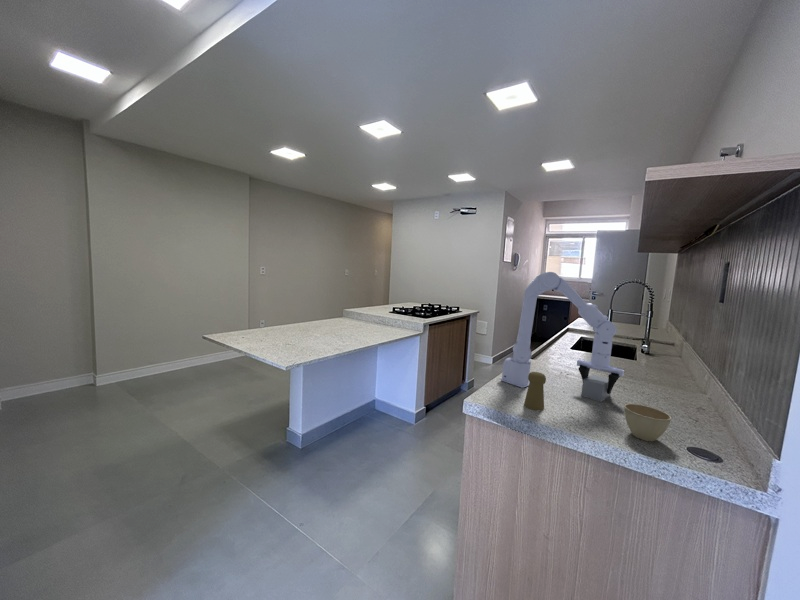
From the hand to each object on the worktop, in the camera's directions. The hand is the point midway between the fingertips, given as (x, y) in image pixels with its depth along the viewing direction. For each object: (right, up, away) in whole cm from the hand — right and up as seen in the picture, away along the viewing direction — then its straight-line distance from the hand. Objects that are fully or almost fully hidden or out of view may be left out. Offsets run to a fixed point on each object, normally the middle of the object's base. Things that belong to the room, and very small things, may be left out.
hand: (596, 389), depth 116 cm
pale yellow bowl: (-5, -5, -30) cm, 30 cm away
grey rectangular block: (0, -2, 0) cm, 2 cm away
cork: (-28, -2, -14) cm, 32 cm away
